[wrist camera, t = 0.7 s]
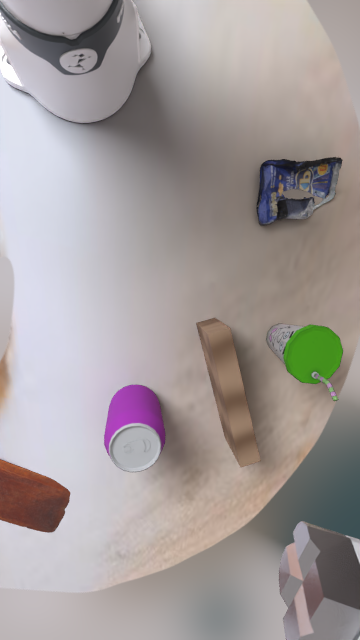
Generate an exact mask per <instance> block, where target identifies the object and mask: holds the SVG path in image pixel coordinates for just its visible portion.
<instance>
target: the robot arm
mask: <svg viewBox="0 0 360 640" xmlns="http://www.w3.org/2000/svg"><path fill="white" fill-rule="evenodd" d="M139 37H140V39H139ZM150 54H151V44H150V40H149V38H148V36H147V33H146V31H145V28H144V26H143V24H142V21H141V19H140V17H139V14H138V10H137V6H136V5H135V4H134V2H133V0H0V67H1V72H2V75H3V77H4V79H5V81H6V82H7V83H8V84H10V85H11V86H13V87H15V88H17V89H19V90H22V91H24V92H27V93H29V94H30V95H32V96H33V97H34V98H35V99H36V100H37V101H38V102H39V103H40V104H41V105H42V106H44V107H45V108H46V109H47V110H49V111H50V112H52V113H53V114H55V115H57V116H58V117H61V118H63V119H66V120H69V121H73V122H79V123H90V122H96V121H100V120H103V119H105V118H107V117H109V116H111V115H112V114H114V113H115V112H116V111H118V110H119V109H120V108H121V107H122V105H123V104H124V103H125V102H126V100H127V99H128V97H129V95H130V93H131V91H132V88H133V85H134V81H135V78H136V75H137V73H138V71H139V69H140V68H141V67H142V66H143V65H144V64H145V62H146V61H147V60H148V58H149V57H150ZM9 62H10V64H11V65H9V64H8V63H9ZM293 534H294V540H295V543H292V544H290V545H288V546H286V548H285V550H284V553H283V555H282V558H281V563H280V568H279V587H280V595H281V596H282V598H283V600H284V602H285V603H286V605H287V606H288V610H287V612H286V614H285V616H284V618H283V620H284V629H285V637H286V640H360V540H359V539H356V538H353V537H349V536H345V535H343V534H340V533H337V532H334V531H331V530H328V529H325V528H321V527H319V526H316V525H312V524H309V523H306V522H303V521H301V522H300V523H299V524H297V526H296V528H295V530H294V532H293Z"/></svg>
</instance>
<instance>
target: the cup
mask: <svg viewBox="0 0 360 640" xmlns="http://www.w3.org/2000/svg"><path fill="white" fill-rule="evenodd" d="M266 340H267V343H268V346H269V347H270V348H271V349H272V351H273V352H274V353H275V354H276V355H277V356H278V357H279V358H280V359H281V360H282V361H283V363H284V364H285V365H286V368H287V371H288V372H289V373H290V374H291V375H293V376H294V377H295V378H296V379H298V380H299V381H300V382H302V383H311V384H317V383H319V382H323V383H324V384H326V386H327V387H328V390H329V392H330V394H331V396H332V399H333V401H337V400H338V398H337V395H336V393H335V391H334V389H333V387H332V384H331V383H330V382H329V381H328V380H327V379H328V378H330V377H331V376H332V375H333V373H334V372H335V371H336V370H337V369H338V367H339V366H340V362H341V358H342V354H343V349H342V345H341V342H340V338H339V337H338V336H337V335H336V334H335V333H334V332H333V331H332V330H331V329H329V328H327V327H324V326H317V325H308V326H306V327H303V326H295V325H287V324H277V325H274V326H272V328H271V329H270V330H269V331H268V333H267V338H266Z"/></svg>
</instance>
